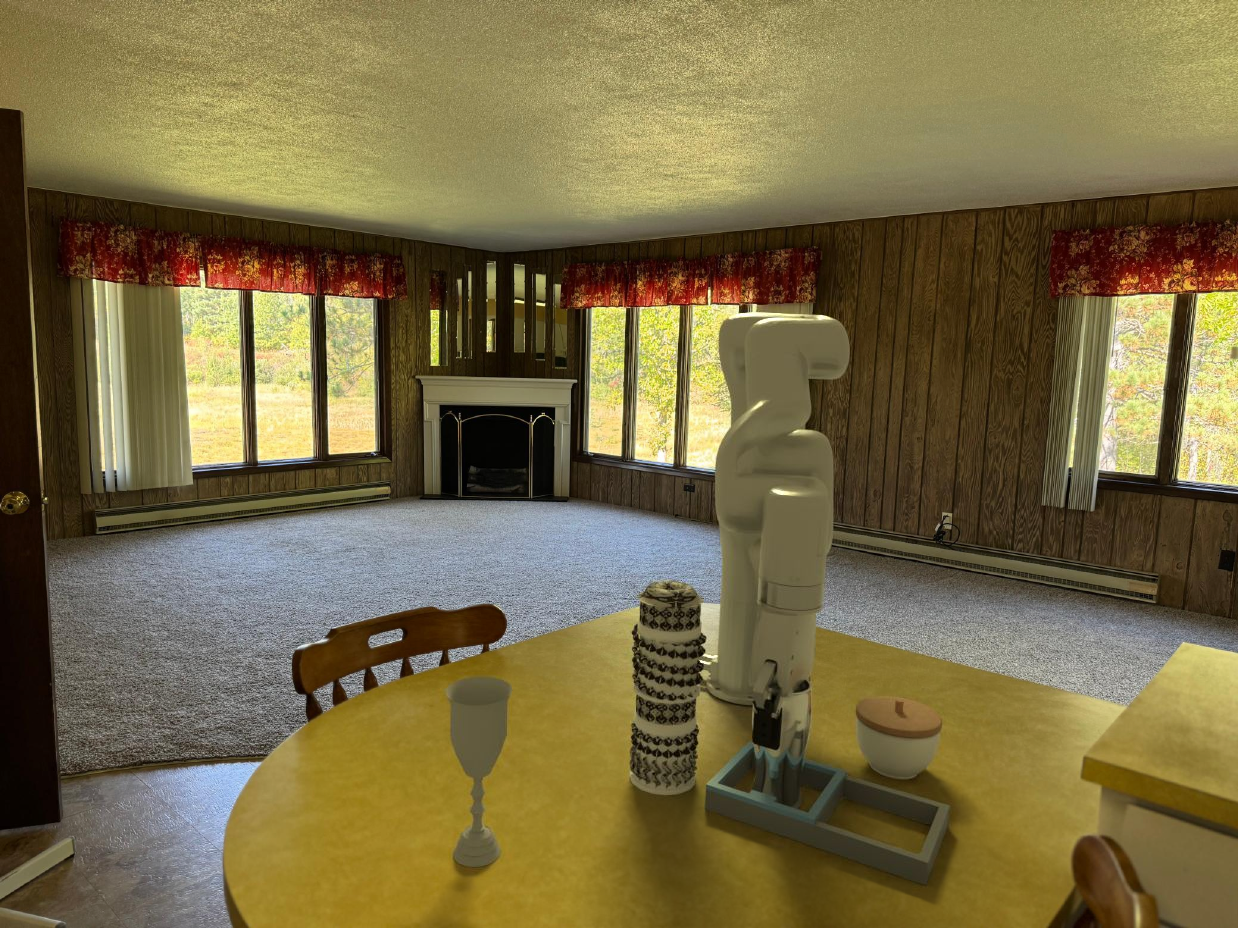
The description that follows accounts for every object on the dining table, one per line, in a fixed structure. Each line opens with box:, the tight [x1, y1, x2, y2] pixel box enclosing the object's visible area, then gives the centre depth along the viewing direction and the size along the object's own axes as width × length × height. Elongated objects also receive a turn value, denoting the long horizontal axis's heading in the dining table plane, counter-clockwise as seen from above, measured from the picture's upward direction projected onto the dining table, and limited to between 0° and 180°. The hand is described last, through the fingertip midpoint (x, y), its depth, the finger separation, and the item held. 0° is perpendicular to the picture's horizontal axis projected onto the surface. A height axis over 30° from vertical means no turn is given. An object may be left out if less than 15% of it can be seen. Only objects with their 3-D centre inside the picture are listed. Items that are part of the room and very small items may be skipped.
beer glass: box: [751, 679, 813, 810], centre depth 99 cm, size 7×7×15 cm
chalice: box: [445, 676, 513, 868], centre depth 86 cm, size 7×7×18 cm
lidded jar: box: [855, 695, 943, 780], centre depth 108 cm, size 11×11×9 cm
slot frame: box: [704, 741, 951, 886], centre depth 96 cm, size 25×13×3 cm, turn 59°
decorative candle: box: [629, 580, 707, 796], centre depth 102 cm, size 9×9×25 cm
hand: (780, 729), depth 98 cm, fingers open, 9 cm apart
